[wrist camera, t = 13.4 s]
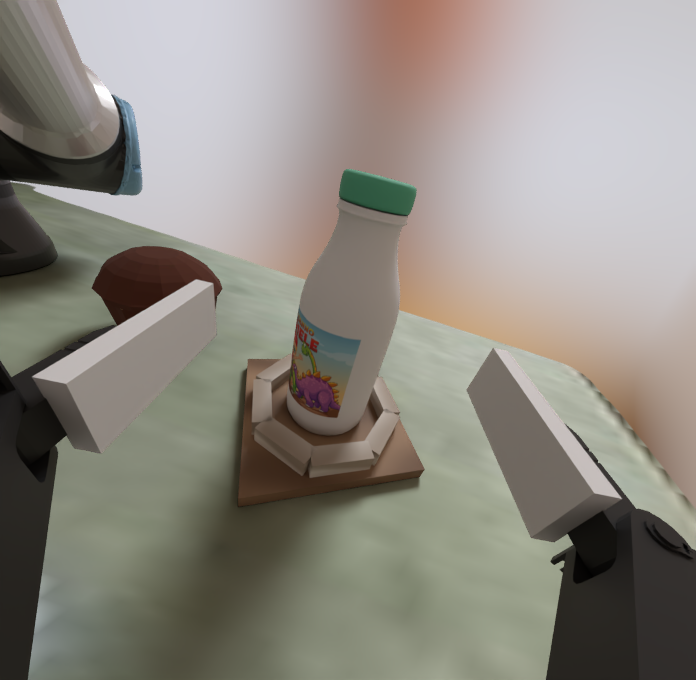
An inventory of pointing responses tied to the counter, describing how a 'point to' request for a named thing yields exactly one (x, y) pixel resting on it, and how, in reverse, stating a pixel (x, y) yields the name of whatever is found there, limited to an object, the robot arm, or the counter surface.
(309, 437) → the ring stand
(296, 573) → the counter surface
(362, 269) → the milk bottle
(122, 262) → the muffin
